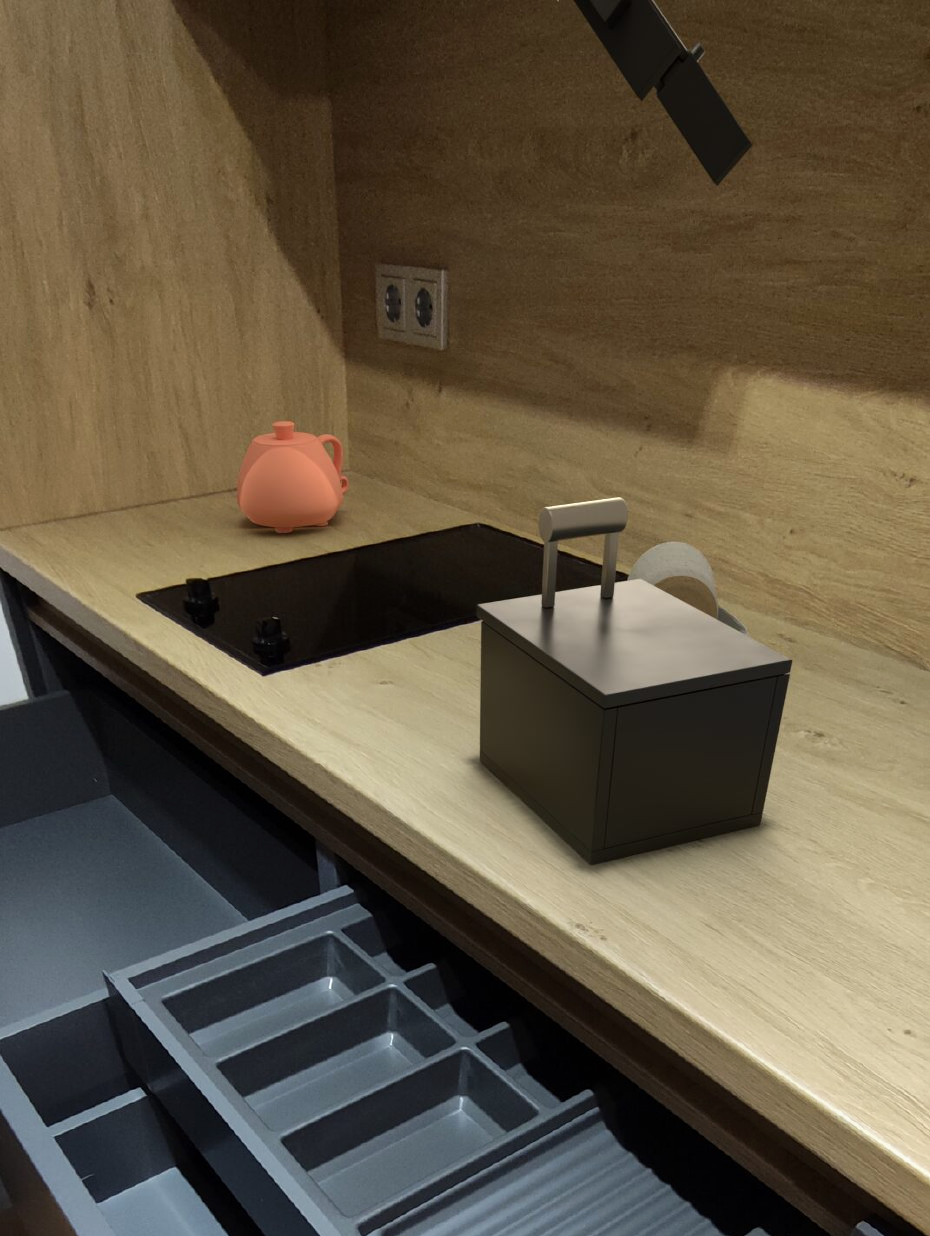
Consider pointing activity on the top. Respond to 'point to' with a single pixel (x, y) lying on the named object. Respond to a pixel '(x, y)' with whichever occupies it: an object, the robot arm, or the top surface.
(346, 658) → the top surface
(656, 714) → the bin
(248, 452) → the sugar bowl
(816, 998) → the top surface
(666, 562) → the ceramic mug
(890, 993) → the top surface
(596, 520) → the bin lid
